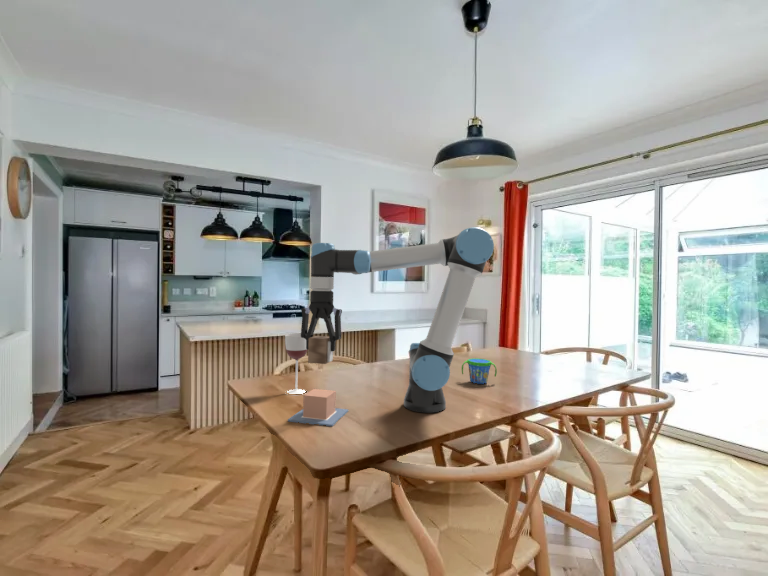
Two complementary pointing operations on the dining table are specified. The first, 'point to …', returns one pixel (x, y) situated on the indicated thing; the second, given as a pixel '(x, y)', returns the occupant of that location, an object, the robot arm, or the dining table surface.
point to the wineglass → (295, 354)
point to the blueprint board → (328, 422)
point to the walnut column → (318, 349)
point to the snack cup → (479, 370)
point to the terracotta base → (319, 404)
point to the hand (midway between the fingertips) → (320, 360)
